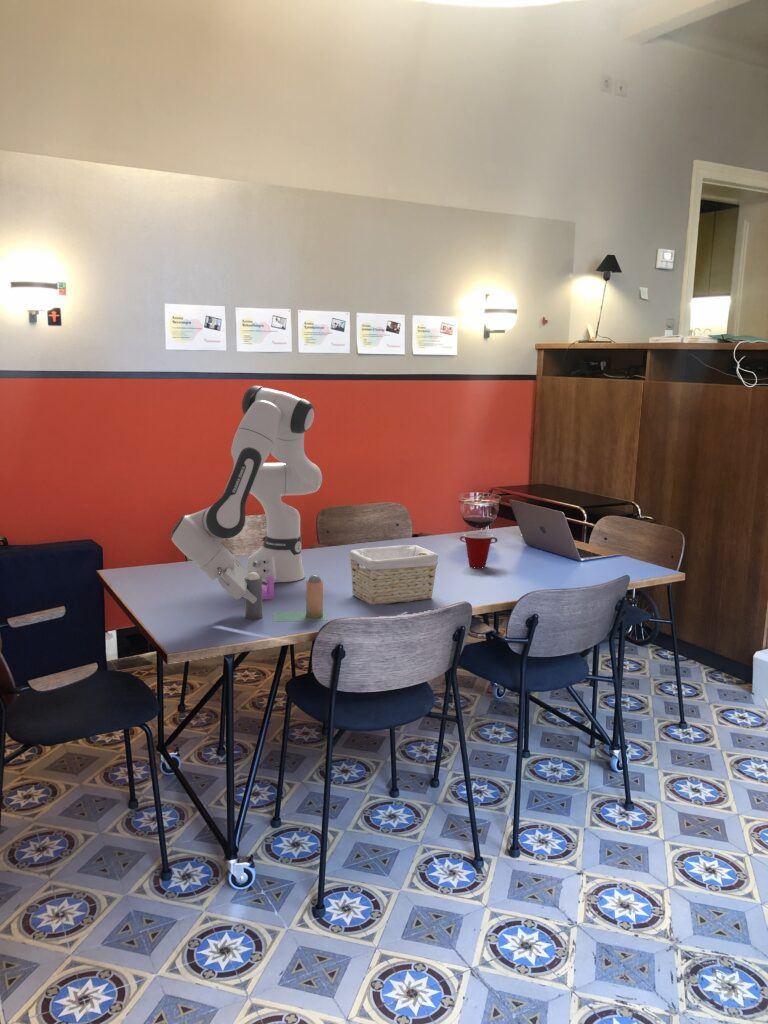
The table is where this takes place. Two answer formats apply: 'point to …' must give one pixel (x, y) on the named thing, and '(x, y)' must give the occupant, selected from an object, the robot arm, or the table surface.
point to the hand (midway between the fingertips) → (255, 597)
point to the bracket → (268, 588)
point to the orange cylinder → (314, 597)
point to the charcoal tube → (255, 587)
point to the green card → (296, 616)
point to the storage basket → (393, 573)
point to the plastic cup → (477, 548)
